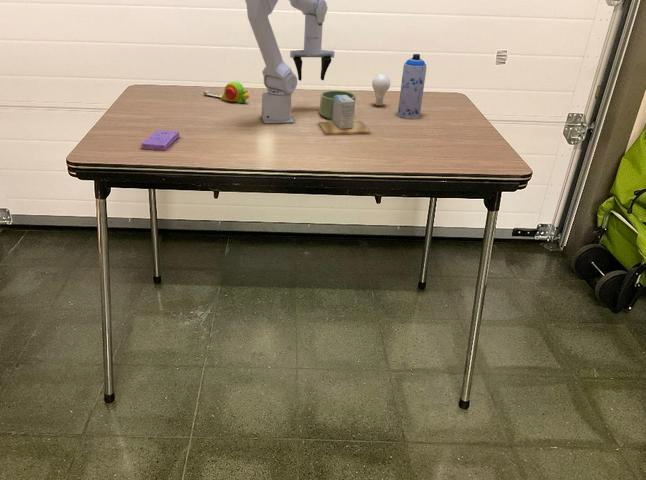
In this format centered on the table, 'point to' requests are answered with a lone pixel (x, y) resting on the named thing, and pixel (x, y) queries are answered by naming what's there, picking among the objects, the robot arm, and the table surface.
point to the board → (333, 129)
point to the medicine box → (343, 111)
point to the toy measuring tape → (232, 93)
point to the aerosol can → (412, 88)
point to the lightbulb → (380, 87)
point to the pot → (331, 102)
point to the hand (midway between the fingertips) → (311, 79)
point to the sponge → (160, 140)
